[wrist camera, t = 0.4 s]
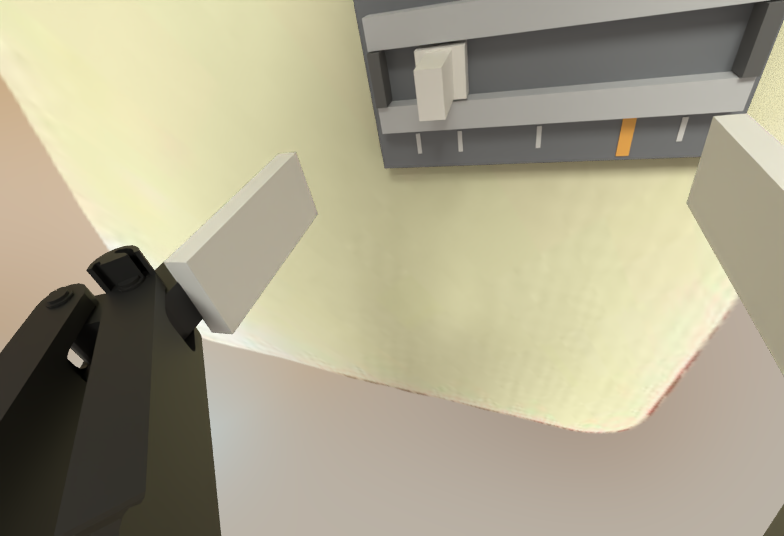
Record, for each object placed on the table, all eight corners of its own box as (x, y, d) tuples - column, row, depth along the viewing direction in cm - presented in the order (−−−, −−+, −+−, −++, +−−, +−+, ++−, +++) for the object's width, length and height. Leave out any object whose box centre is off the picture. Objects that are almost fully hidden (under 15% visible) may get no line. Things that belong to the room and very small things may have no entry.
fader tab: (418, 46, 33) (399, 69, 28) (466, 39, 32) (455, 62, 27) (423, 95, 36) (407, 124, 31) (468, 91, 34) (459, 121, 29)
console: (352, -51, 32) (334, -47, 29) (833, -153, 23) (877, -162, 20) (389, 159, 43) (379, 177, 40) (721, 145, 34) (738, 166, 31)
